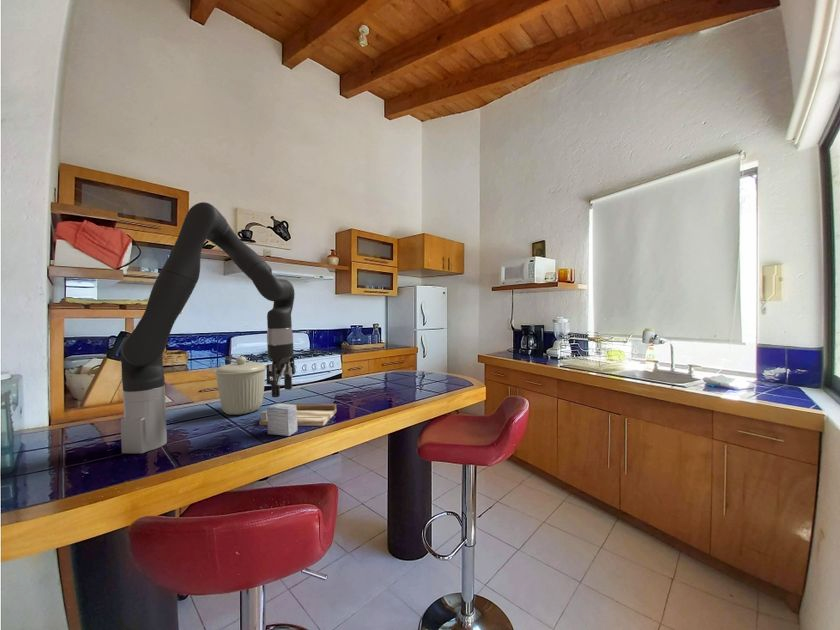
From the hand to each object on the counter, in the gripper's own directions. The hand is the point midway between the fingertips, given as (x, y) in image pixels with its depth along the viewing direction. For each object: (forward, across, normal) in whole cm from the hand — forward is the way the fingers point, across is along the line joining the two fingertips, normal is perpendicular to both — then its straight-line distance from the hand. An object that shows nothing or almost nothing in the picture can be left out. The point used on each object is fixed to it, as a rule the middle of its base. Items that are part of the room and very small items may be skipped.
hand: (282, 393), depth 103 cm
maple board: (+13, -12, 0) cm, 18 cm away
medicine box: (+13, +1, 0) cm, 13 cm away
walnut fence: (+11, -18, 0) cm, 21 cm away
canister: (+13, -21, -26) cm, 35 cm away
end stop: (+11, -12, -10) cm, 19 cm away
